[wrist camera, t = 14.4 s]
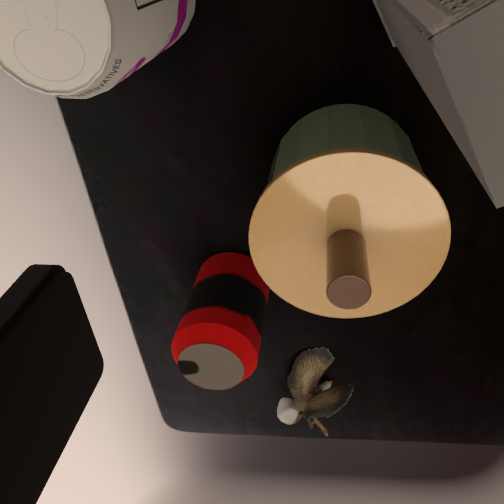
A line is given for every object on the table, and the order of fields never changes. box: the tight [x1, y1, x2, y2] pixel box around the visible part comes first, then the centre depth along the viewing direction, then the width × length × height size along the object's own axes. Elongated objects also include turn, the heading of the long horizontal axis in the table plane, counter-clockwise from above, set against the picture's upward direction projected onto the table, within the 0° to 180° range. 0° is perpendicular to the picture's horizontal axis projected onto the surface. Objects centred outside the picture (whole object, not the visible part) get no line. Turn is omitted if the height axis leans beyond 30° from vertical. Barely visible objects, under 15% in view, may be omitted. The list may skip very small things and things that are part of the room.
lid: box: [249, 148, 451, 318], centre depth 29 cm, size 13×13×6 cm
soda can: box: [171, 252, 270, 390], centre depth 43 cm, size 8×8×12 cm
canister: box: [266, 104, 423, 187], centre depth 35 cm, size 12×12×10 cm
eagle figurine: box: [277, 347, 354, 436], centre depth 52 cm, size 8×7×9 cm
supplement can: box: [0, 0, 195, 99], centre depth 27 cm, size 8×8×15 cm
